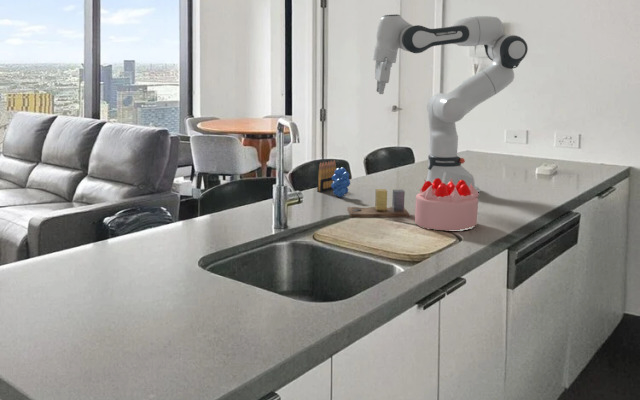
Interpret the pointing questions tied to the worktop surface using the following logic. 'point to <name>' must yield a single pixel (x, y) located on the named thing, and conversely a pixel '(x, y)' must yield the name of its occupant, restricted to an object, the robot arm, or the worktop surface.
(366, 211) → the brown flat rectangular board
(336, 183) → the grapes
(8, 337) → the worktop surface
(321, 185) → the ammunition clip
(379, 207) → the wooden block
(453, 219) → the cake
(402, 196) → the grey rectangular block
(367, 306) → the worktop surface
